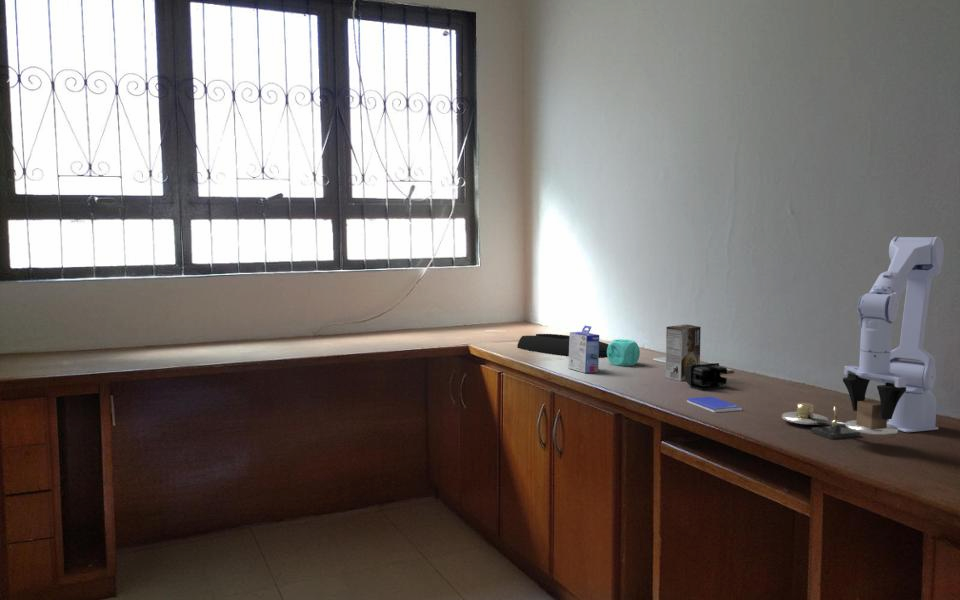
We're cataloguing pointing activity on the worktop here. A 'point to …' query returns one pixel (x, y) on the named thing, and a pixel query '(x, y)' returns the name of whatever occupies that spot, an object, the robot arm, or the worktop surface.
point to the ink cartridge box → (584, 351)
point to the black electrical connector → (706, 376)
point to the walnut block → (870, 414)
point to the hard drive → (714, 404)
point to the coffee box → (681, 350)
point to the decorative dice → (623, 352)
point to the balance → (832, 424)
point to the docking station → (552, 344)
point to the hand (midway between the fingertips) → (871, 414)
